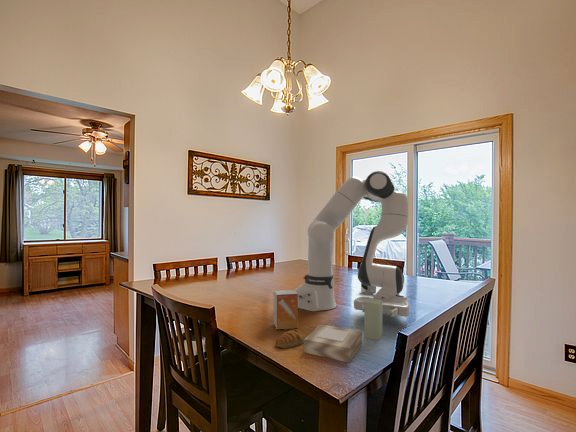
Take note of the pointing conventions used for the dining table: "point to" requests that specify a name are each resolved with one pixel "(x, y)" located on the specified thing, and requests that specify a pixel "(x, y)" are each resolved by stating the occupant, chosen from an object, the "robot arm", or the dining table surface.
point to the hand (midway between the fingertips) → (377, 312)
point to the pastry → (290, 339)
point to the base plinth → (333, 342)
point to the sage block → (373, 319)
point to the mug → (368, 289)
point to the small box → (286, 309)
